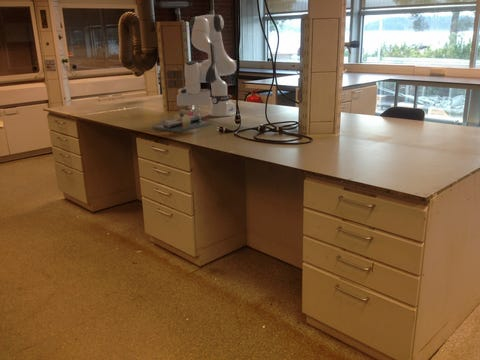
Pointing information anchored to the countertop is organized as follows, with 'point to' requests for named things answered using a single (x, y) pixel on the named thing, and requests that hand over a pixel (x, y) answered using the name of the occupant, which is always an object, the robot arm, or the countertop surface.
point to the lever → (186, 112)
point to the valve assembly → (182, 123)
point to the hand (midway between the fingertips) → (194, 112)
